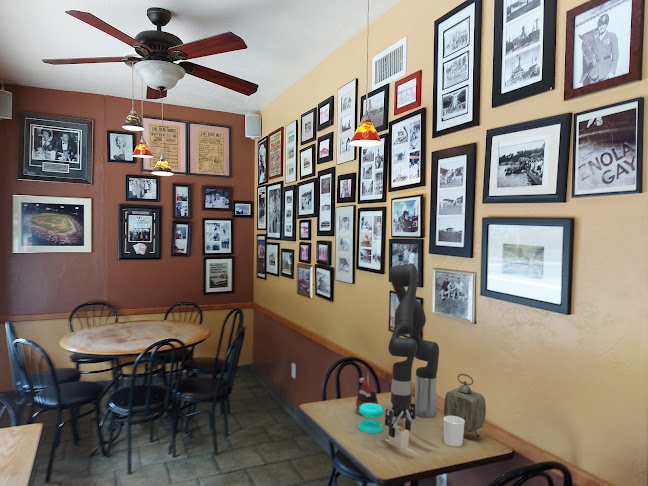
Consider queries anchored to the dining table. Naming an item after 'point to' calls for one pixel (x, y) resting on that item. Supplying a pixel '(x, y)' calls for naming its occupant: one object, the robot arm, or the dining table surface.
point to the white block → (400, 438)
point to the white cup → (453, 430)
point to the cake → (365, 394)
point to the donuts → (371, 412)
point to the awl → (401, 423)
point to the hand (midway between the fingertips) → (399, 433)
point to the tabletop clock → (466, 406)
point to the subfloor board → (410, 447)
